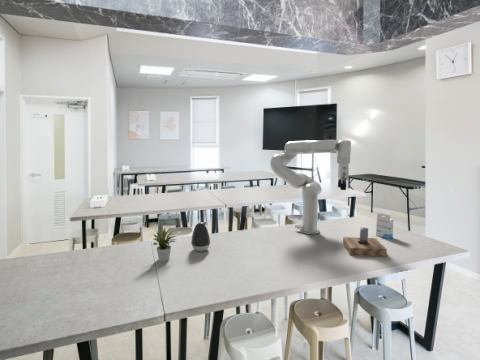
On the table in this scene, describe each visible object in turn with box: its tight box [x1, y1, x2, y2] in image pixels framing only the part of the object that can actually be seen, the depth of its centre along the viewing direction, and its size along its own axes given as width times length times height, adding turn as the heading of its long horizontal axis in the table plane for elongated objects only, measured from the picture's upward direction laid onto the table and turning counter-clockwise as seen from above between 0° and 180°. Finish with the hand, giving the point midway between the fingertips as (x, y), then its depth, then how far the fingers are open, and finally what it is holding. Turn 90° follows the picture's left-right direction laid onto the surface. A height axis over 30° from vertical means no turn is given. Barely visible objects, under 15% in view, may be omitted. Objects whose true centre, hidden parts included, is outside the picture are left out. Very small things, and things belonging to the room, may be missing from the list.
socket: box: [342, 236, 388, 258], centre depth 169 cm, size 18×18×4 cm
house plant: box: [152, 227, 177, 262], centre depth 154 cm, size 14×14×16 cm
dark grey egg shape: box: [190, 221, 211, 252], centre depth 169 cm, size 10×10×15 cm
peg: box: [359, 227, 369, 245], centre depth 169 cm, size 4×4×12 cm
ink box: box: [375, 212, 394, 240], centre depth 192 cm, size 8×5×15 cm, turn 39°
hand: (341, 188), depth 190 cm, fingers open, 9 cm apart
